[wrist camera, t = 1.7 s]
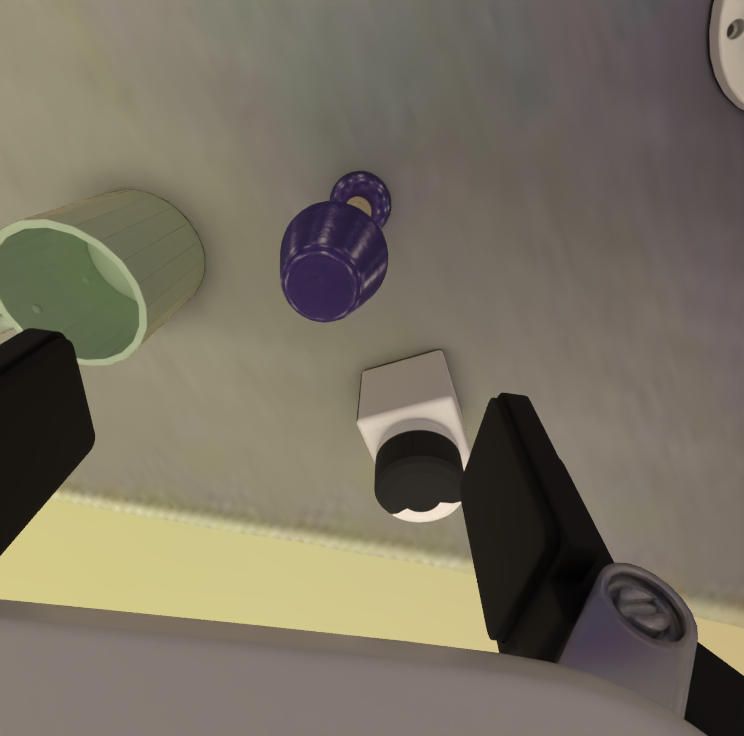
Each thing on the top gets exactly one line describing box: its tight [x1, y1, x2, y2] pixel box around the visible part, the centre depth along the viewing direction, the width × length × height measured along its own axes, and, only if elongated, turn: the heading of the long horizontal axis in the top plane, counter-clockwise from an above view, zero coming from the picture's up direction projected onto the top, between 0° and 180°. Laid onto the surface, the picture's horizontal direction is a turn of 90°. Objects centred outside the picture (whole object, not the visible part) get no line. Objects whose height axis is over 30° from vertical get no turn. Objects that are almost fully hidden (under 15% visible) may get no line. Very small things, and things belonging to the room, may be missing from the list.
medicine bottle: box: [357, 350, 471, 522], centre depth 33 cm, size 7×7×12 cm
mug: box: [0, 190, 205, 366], centre depth 28 cm, size 12×9×9 cm
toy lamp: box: [280, 171, 391, 322], centre depth 23 cm, size 5×5×17 cm
